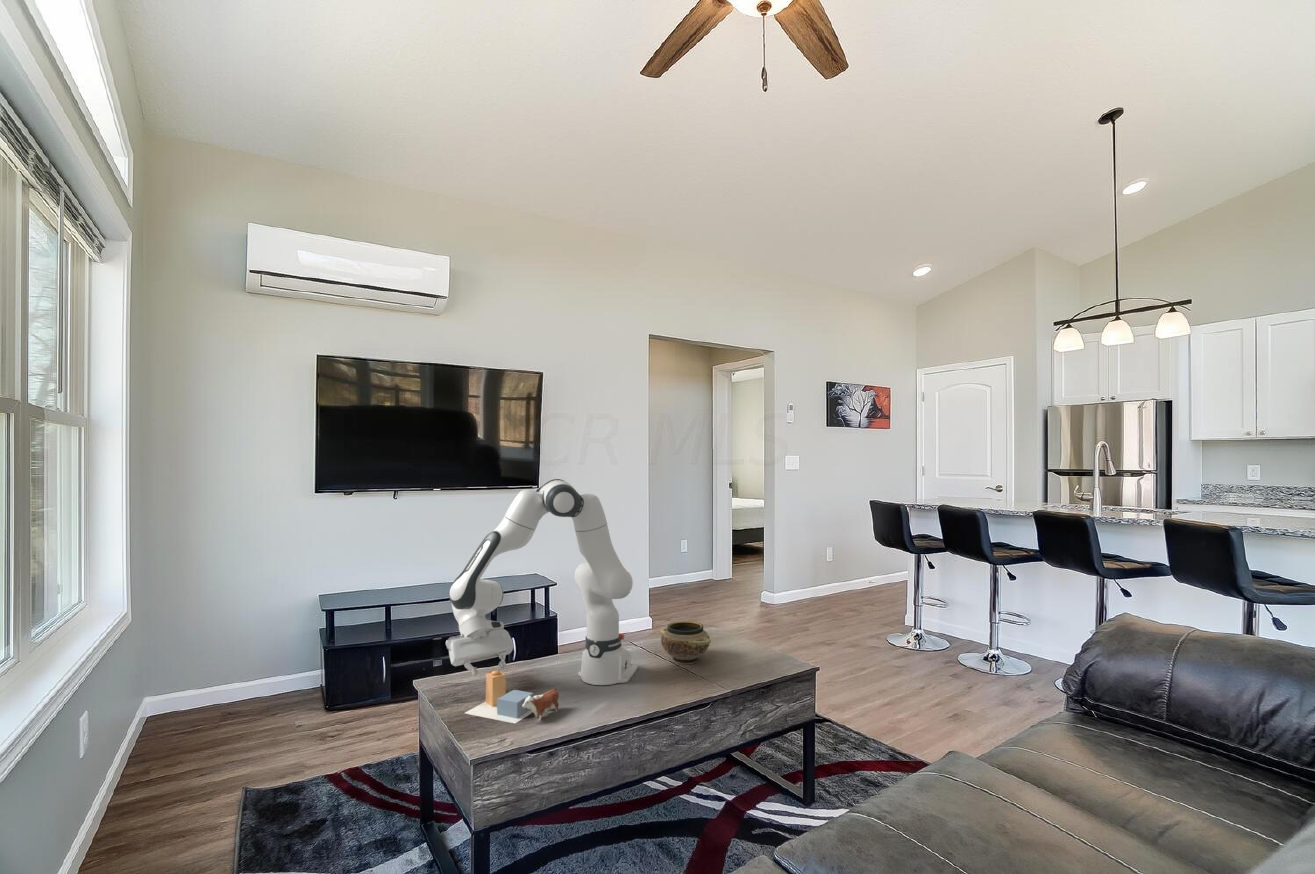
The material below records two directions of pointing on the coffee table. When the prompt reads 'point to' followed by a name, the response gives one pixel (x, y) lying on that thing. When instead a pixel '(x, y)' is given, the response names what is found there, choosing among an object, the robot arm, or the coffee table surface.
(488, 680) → the tall brick
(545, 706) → the bull figurine
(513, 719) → the baseplate
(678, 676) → the coffee table surface
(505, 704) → the base block
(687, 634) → the ceramic bowl
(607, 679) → the robot arm
